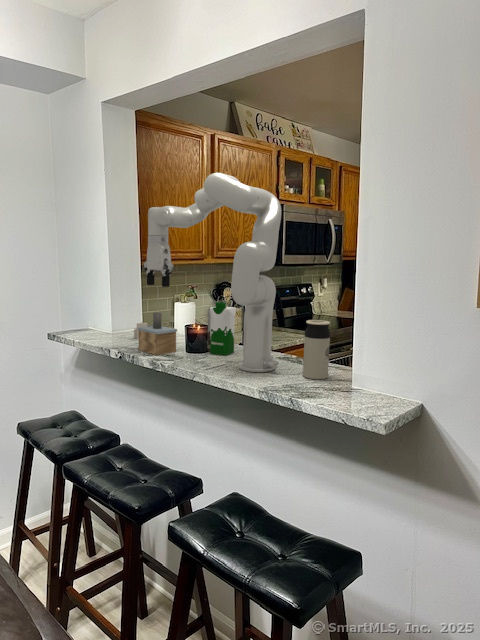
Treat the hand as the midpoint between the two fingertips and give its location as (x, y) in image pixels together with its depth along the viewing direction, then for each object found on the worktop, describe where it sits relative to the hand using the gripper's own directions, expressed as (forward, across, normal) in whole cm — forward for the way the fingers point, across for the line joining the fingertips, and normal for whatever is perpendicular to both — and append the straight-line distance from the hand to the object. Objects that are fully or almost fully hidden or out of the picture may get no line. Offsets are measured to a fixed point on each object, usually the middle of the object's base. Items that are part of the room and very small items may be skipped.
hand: (157, 285), depth 182 cm
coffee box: (+26, -10, -24) cm, 36 cm away
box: (+26, 0, 0) cm, 26 cm away
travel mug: (+25, -64, -15) cm, 71 cm away
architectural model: (+26, +27, -10) cm, 39 cm away
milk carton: (+26, -19, -17) cm, 36 cm away
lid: (+18, 0, 0) cm, 18 cm away
